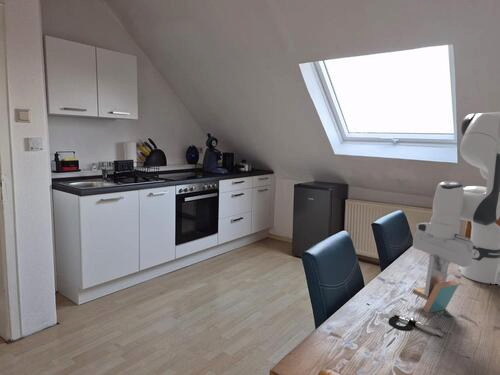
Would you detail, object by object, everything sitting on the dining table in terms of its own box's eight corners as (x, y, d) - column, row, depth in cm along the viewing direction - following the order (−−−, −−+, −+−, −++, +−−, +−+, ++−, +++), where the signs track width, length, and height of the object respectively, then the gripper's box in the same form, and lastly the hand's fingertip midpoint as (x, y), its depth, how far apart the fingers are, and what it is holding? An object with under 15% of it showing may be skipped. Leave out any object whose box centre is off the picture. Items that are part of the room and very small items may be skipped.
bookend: (428, 289, 134) (434, 248, 131) (443, 297, 128) (450, 254, 126) (412, 292, 130) (418, 250, 128) (427, 300, 125) (433, 256, 122)
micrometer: (384, 324, 116) (385, 317, 115) (394, 317, 121) (395, 310, 120) (434, 346, 105) (436, 338, 105) (443, 337, 110) (444, 329, 110)
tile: (440, 304, 130) (453, 280, 125) (445, 309, 128) (459, 284, 124) (422, 308, 126) (435, 283, 121) (427, 313, 124) (440, 287, 120)
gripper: (480, 238, 115) (473, 280, 118) (424, 222, 134) (419, 258, 136) (467, 240, 113) (460, 283, 115) (412, 223, 131) (407, 260, 133)
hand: (438, 269), depth 126 cm, fingers closed on bookend
